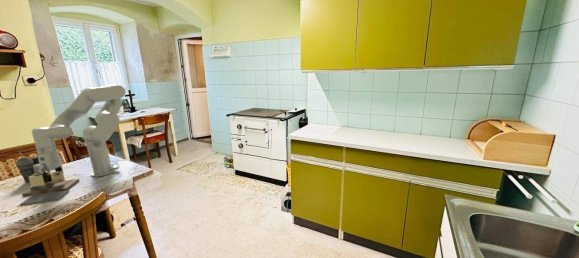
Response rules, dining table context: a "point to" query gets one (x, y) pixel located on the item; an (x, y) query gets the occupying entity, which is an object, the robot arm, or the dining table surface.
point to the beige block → (39, 180)
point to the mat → (44, 198)
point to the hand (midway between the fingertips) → (54, 177)
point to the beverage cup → (25, 167)
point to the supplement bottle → (35, 160)
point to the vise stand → (49, 185)
